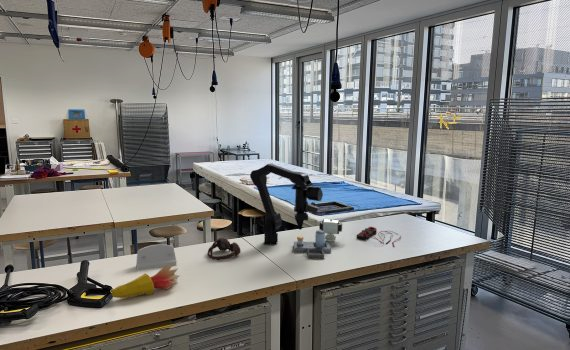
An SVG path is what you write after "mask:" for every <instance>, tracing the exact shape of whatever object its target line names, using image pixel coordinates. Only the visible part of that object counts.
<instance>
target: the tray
mask: <svg viewBox="0 0 570 350" xmlns="http://www.w3.org/2000/svg"><path fill="white" fill-rule="evenodd" d="M306 253H307V257H308V259H314V260H315V259H320V260H322V259H325V253H324V252H323V250H322V249H307V252H306Z"/></svg>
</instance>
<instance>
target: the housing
mask: <svg viewBox="0 0 570 350" xmlns="http://www.w3.org/2000/svg"><path fill="white" fill-rule="evenodd" d="M297 243H298V241H293V251H294V253H307V249H322V250H323V252H324V254H325V253H326V254H327V253H329V254H330V253H332V247H331V245H330V241H325V247H315V241H303V245H302V246H299V245H297Z"/></svg>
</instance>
